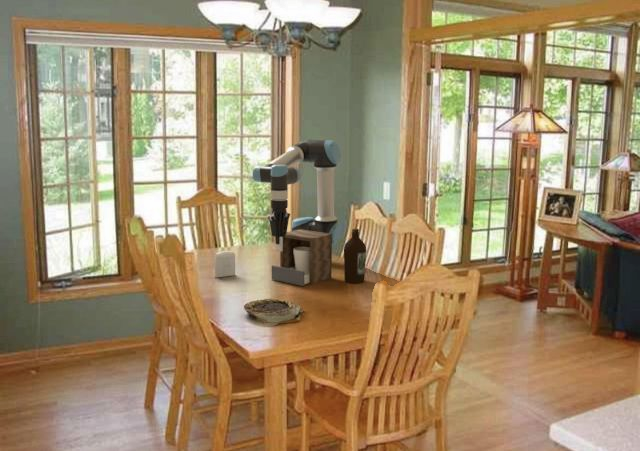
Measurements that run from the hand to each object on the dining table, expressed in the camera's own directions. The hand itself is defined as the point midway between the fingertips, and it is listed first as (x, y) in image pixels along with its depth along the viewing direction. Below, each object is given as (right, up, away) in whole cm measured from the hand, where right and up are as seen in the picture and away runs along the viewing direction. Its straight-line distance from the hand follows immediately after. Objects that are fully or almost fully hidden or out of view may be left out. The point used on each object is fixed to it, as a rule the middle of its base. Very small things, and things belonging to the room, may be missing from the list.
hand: (279, 250), depth 299 cm
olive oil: (+35, -15, +12) cm, 40 cm away
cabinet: (+11, -14, +18) cm, 25 cm away
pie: (-1, -24, -40) cm, 47 cm away
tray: (+9, -14, +15) cm, 22 cm away
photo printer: (-27, -13, +19) cm, 36 cm away
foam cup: (+10, -13, +16) cm, 23 cm away
